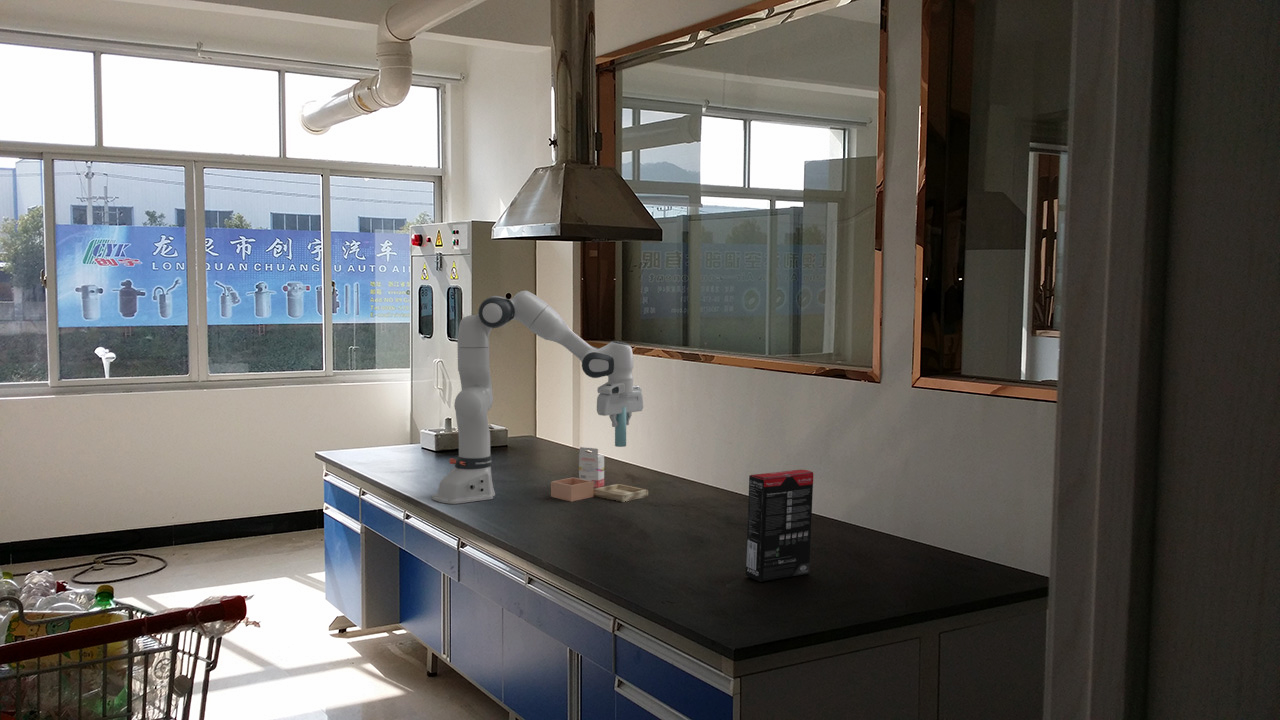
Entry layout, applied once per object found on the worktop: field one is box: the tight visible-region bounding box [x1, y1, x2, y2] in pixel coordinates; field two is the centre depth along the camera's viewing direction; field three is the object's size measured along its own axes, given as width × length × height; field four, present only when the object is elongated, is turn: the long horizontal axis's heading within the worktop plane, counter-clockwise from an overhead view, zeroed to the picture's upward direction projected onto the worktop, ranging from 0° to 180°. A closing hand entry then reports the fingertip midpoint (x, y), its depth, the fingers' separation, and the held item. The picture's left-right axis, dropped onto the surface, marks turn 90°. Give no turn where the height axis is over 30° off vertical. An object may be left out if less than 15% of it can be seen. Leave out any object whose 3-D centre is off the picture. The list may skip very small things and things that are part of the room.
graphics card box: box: [745, 469, 814, 583], centre depth 256 cm, size 17×7×27 cm, turn 123°
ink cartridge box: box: [578, 446, 605, 489], centre depth 369 cm, size 9×5×15 cm, turn 62°
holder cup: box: [550, 477, 595, 502], centre depth 350 cm, size 11×11×6 cm
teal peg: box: [614, 407, 627, 448], centre depth 350 cm, size 4×4×14 cm
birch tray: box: [593, 483, 649, 503], centre depth 352 cm, size 13×15×2 cm
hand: (620, 426), depth 350 cm, fingers closed on teal peg, 4 cm apart
